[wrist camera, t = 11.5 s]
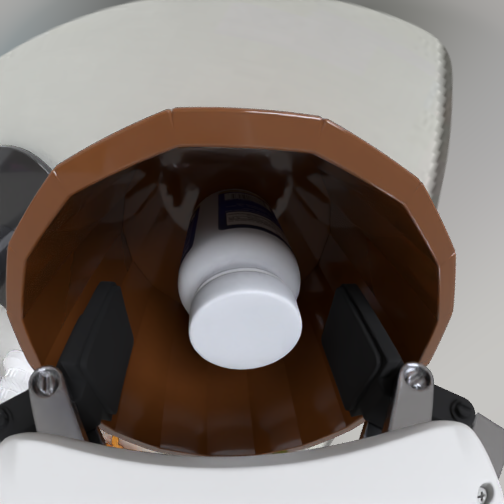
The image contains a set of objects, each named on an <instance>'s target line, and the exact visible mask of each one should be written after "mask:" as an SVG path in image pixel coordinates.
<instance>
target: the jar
mask: <svg viewBox="0 0 504 504" xmlns="http://www.w3.org/2000/svg"><path fill="white" fill-rule="evenodd" d="M226 189H242V190H247V191H250V192H252V193H254V194H256V195H258V196H260V197H261V198H262V199H264V200H265V201H266V202H267V203H268V205H269V206H270V207H271V209H272V211H273V212H274V214H275V216H276V218H277V220H278V222H279V224H280V226H281V228H282V230H283V232H284V235H285V237H286V239H287V241H288V243H289V245H290V247H291V249H292V251H293V253H294V255H295V258H296V260H297V264H298V267H299V271H300V278H301V281H300V291H299V295H298V297H297V300H296V301H297V306H298V309H299V312H300V316H301V320H302V331H301V335H300V338H299V340H298V342H297V343H296V345H295V346H294V348H293V349H292V350H291V351H290V352H289V353H288V354H287V355H285V356H284V357H282V358H281V359H279V360H278V361H276V362H274V363H271V364H269V365H266V366H263V367H259V368H254V369H229V368H224V367H220V366H218V365H215V364H213V363H211V362H209V361H207V360H205V359H204V358H202V357H201V356H200V355H199V354H198V353H197V352H196V351H195V349H194V348H193V346H192V344H191V342H190V338H189V330H188V329H189V314H188V312H187V311H186V309H185V308H184V306H183V304H182V302H181V299H180V296H179V291H178V274H179V268H180V263H181V258H182V254H183V249H184V244H185V240H186V235H187V231H188V227H189V222H190V219H191V217H192V214H193V212H194V210H195V209H196V207H197V206H198V205H199V204H200V203H201V202H202V201H203V200H204V199H205V198H206V197H208V196H209V195H211V194H213V193H216V192H218V191H222V190H226ZM8 244H9V245H8V247H7V261H6V310H7V315H8V318H9V320H10V323H11V326H12V328H13V331H14V333H15V335H16V338H17V340H18V342H19V345H20V347H21V349H22V351H23V354H24V356H25V358H26V360H27V362H28V363H29V365H30V366H31V368H32V369H33V370H34V371H35V370H36V369H37V368H39V367H41V366H44V365H53V366H55V367H56V365H57V363H58V360H59V358H60V356H61V354H62V351H63V349H64V347H65V345H66V343H67V341H68V338H69V336H70V334H71V332H72V330H73V328H74V326H75V324H76V322H77V320H78V318H79V317H80V315H81V314H83V312H84V310H85V308H86V306H87V304H88V303H89V301H90V299H91V297H92V295H93V293H94V291H95V290H96V288H97V286H98V284H99V283H100V282H101V281H109V282H115V283H116V285H117V286H120V287H121V291H122V295H123V299H124V303H125V307H126V311H127V315H128V319H129V322H130V326H131V329H132V333H133V337H134V344H133V348H132V352H131V356H130V359H129V363H128V367H127V371H126V375H125V379H124V384H123V388H122V392H121V397H120V401H119V406H118V411H117V413H116V414H115V415H114V414H113V415H112V420H111V421H107V420H101V424H100V425H99V428H100V429H102V430H103V431H105V432H107V433H108V434H111V435H113V436H115V437H118V438H120V439H123V440H125V441H128V442H130V443H133V444H136V445H138V446H141V447H144V448H147V449H150V450H153V451H157V452H161V453H166V454H171V455H182V456H204V457H233V456H256V455H269V454H279V453H288V452H295V451H299V450H303V449H306V448H309V447H312V446H315V445H317V444H320V443H322V442H325V441H327V440H330V439H332V438H335V437H337V436H339V435H342V434H344V433H346V432H348V431H350V430H352V429H354V428H355V427H357V426H359V425H360V424H362V423H363V422H365V420H364V418H363V415H358V416H354V417H351V415H350V412H349V411H347V410H345V408H344V405H343V402H342V400H341V397H340V394H339V391H338V388H337V385H336V382H335V379H334V377H333V374H332V371H331V368H330V365H329V363H328V360H327V357H326V354H325V352H324V349H323V346H322V342H321V337H322V333H323V330H324V327H325V324H326V321H327V318H328V314H329V311H330V308H331V304H332V301H333V298H334V294H335V291H336V289H337V288H339V287H340V286H341V284H350V283H355V284H357V285H358V287H359V288H360V290H361V291H362V293H363V295H364V296H365V298H366V299H367V301H368V303H369V304H370V306H371V307H372V309H373V311H374V312H375V314H376V315H377V317H378V319H379V320H380V322H381V324H382V325H383V327H384V329H385V330H386V332H387V334H388V335H389V337H390V339H391V341H392V342H393V344H394V346H395V348H396V349H397V351H398V353H399V355H400V356H401V358H402V361H403V363H404V364H405V363H407V362H418V363H421V364H423V365H424V366H427V365H428V364H429V362H430V361H431V359H432V357H433V355H434V353H435V351H436V349H437V347H438V345H439V343H440V341H441V338H442V336H443V334H444V332H445V330H446V327H447V325H448V323H449V320H450V318H451V315H452V312H453V307H454V294H455V273H456V269H455V268H456V253H455V250H454V247H453V245H452V242H451V240H450V238H449V236H448V233H447V231H446V229H445V226H444V224H443V222H442V220H441V218H440V216H439V214H438V212H437V210H436V208H435V206H434V204H433V202H432V200H431V198H430V196H429V194H428V192H427V190H426V188H425V187H424V185H423V183H422V182H420V180H419V179H418V178H417V177H416V176H415V175H413V174H412V173H411V172H409V171H408V170H407V169H405V168H404V167H402V166H401V165H400V164H398V163H397V162H395V161H394V160H393V159H391V158H390V157H388V156H387V155H385V154H384V153H383V152H381V151H380V150H378V149H377V148H375V147H374V146H372V145H370V144H369V143H367V142H366V141H364V140H363V139H361V138H359V137H358V136H356V135H355V134H353V133H351V132H350V131H348V130H346V129H345V128H343V127H341V126H339V125H338V124H336V123H334V122H332V121H331V120H329V119H325V118H322V117H320V116H316V115H310V114H302V113H294V112H285V111H275V110H264V109H250V108H229V107H176V108H174V109H166V110H164V111H161V112H159V113H156V114H154V115H152V116H149V117H147V118H145V119H142V120H140V121H138V122H136V123H133V124H131V125H129V126H127V127H125V128H123V129H121V130H119V131H117V132H115V133H113V134H111V135H109V136H107V137H105V138H103V139H101V140H99V141H97V142H95V143H94V144H92V145H90V146H88V147H86V148H85V149H83V150H81V151H79V152H78V153H76V154H74V155H73V156H71V157H69V158H68V159H66V160H64V161H63V162H61V163H59V164H58V165H56V167H55V168H54V169H53V170H52V171H51V172H50V173H49V175H48V176H47V178H46V179H45V181H44V182H43V184H42V185H41V187H40V188H39V190H38V191H37V193H36V195H35V196H34V198H33V199H32V201H31V203H30V204H29V206H28V208H27V209H26V211H25V213H24V214H23V216H22V218H21V220H20V222H19V223H18V225H17V227H16V229H15V231H14V233H13V235H12V237H11V239H10V241H9V243H8Z"/></svg>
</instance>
